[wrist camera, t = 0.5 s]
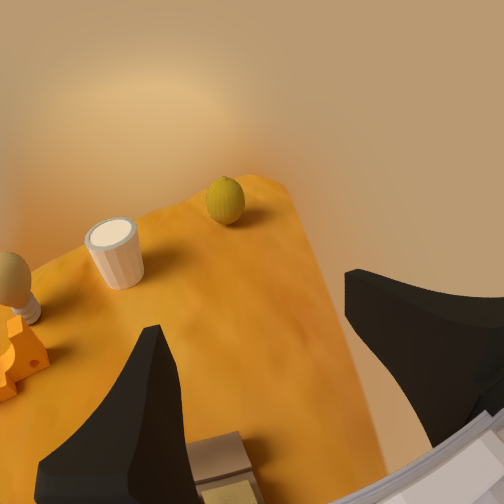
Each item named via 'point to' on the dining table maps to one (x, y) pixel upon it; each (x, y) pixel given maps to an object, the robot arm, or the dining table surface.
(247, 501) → the brass chip
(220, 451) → the slot board
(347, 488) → the dining table surface
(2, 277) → the light bulb
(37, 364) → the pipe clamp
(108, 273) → the white cup
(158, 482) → the robot arm
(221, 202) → the lemon
